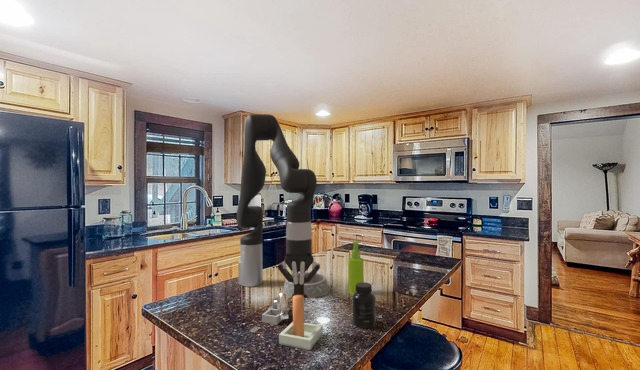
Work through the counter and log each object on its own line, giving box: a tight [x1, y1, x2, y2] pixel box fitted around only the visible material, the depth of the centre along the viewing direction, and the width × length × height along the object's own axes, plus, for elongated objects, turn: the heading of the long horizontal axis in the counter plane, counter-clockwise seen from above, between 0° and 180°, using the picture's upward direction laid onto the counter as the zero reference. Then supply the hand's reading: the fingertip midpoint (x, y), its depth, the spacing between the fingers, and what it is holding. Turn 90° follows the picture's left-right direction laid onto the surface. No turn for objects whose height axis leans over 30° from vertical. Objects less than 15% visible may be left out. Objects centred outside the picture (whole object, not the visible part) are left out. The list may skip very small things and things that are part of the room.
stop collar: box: [261, 308, 284, 325], centre depth 97 cm, size 5×5×2 cm
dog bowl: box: [282, 271, 329, 299], centre depth 125 cm, size 17×18×5 cm
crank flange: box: [249, 304, 290, 333], centre depth 98 cm, size 7×20×1 cm, turn 159°
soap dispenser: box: [347, 240, 365, 295], centre depth 123 cm, size 6×7×20 cm
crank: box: [272, 291, 289, 320], centre depth 99 cm, size 15×4×8 cm, turn 15°
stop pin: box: [292, 295, 305, 337], centre depth 85 cm, size 3×3×11 cm
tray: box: [278, 321, 324, 351], centre depth 85 cm, size 9×9×2 cm
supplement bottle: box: [352, 281, 376, 330], centre depth 94 cm, size 7×7×12 cm
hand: (299, 296), depth 91 cm, fingers closed
